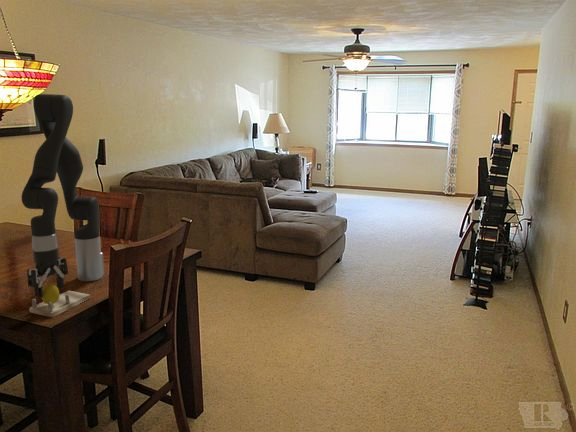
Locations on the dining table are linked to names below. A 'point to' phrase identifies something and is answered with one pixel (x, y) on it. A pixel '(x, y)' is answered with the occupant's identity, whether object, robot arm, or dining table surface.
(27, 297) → the dining table surface
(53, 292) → the lemon
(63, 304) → the peg board
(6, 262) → the dining table surface
